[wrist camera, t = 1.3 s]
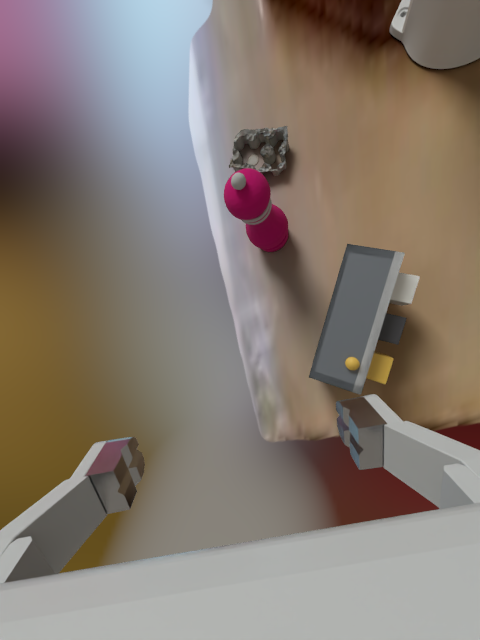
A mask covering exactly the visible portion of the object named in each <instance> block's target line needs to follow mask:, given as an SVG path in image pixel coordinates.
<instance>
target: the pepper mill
mask: <svg viewBox="0 0 480 640" xmlns="http://www.w3.org/2000/svg"><path fill="white" fill-rule="evenodd" d="M224 200H225V203H226V206H227V208H228V210H229V211H230V213H231V214H232V215H234V216H235V217H236V218H238V219H241V220H242V221H243V222H244V223H246V232H247V235H248V237H249V239H250V241H251V242H252V243H253V244H254V245H255V246H257V247H259V248H261V249H262V250H264V251H267V252H274V251H277V250H279V249H281V248H282V247H283V246H284V245H285V243H286V242H287V239H288V221H287V218H286V216H285V214H284V213H283V211H282V210H281V209H280V208H278V207H277V206H275V205H273V204H272V202H271V198H270V187H269V183H268V181H267V180H266V178H265V177H264V175H263V174H262V173H260V172H259V171H257V170H255V169H252V168H245V169H241V170H239V171H237V172H235V173H234V174H233V175H232V176H231V177H230V178H229V180H228V181H227V183H226V185H225V189H224Z"/></svg>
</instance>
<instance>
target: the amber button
mask: <svg viewBox="0 0 480 640" xmlns="http://www.w3.org/2000/svg"><path fill="white" fill-rule="evenodd" d="M393 360H394V358H392V357H390V356H388V355H386V354H382V353H379V352H375V351H374V354H373V357H372V360H371V363H370V367H369V370H368V373H367V376H366V378H367V379H370V380H373V381H376V382H379V383H383V384H386V382H387V378H388V375H389V372H390V369H391V366H392V363H393Z"/></svg>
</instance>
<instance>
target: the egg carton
mask: <svg viewBox="0 0 480 640" xmlns="http://www.w3.org/2000/svg"><path fill="white" fill-rule="evenodd" d="M287 138H288V134H287V126H284V127H279V128H277V129H273V128H272V129H268V128H264V129H256V130H249V129H244V130H241V131H240V132H239V133H238V134H237V135H236V137H235V140H234V148H233V158H232V159H231V161H230V165H229V168H230V167H233V168H234V170H235V172H237V171H239V170H241V169H245V168H252V169H255V167H254V166H255V165H256V164H257V163H258V161H259V158H258V156H257V155H254V154H253V155H251V156H250V157H249V158H248V164H247V163H246V164H245V165H241V164H242V161H243V160H242V157H241V155H240V153H239V151H240V150H242V149H243V147H244V145H245V144H249V145H250V147H251V148H252V149H256V148H258V147H259V146H260V144H261V142H266V144H265V145H264V146H263V147H262V149H261V152H260V153H261V155H262V157H263V160H264V162H265V163H264V164H263V166H262V167H261V168H260V169H259V170H257V171H259V172H260V173H262V174H263V173H264V172H266V171H272V172H273V176H278V175H279V174H280V172H281V171H282V170H284V169H286V165H287V164H286V160H285V156H284V154H285V152H287V151H288V150H289V144H288V139H287ZM279 140H283V141H284V142H282V145H281V146H280V147H279V150H278V151H279V153H280V157H281V161H282V162H283V163H280V164H279V165H278V167H277V169H274V170H273V169H272V168H271V166H270V165H271V164H273V163H274V162H275V160H276V156H275V152H274V149H273V147H274V146H275V145H276V144H277V143H278V141H279ZM255 170H256V169H255Z"/></svg>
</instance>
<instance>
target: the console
mask: <svg viewBox="0 0 480 640" xmlns="http://www.w3.org/2000/svg"><path fill="white" fill-rule="evenodd" d="M404 254H405V253H403V252H396V251H390V250H383V249H377V248H370V247H364V246H357V245H351V244H347V247H346V250H345V254H344V257H343V261H342V264H341V267H340V271H339V274H338V278H337V281H336V285H335V288H334V292H333V295H332V299H331V302H330V306H329V309H328V312H327V316H326V319H325V323H324V326H323V330H322V333H321V337H320V340H319V344H318V347H317V350H316V354H315V357H314V361H313V364H312V368H311V371H310V375H309V377H310V378H313V379H316V380H319V381H322V382H325V383H327V384H330V385H333V386H336V387H339V388H342V389H345V390H348V391H351V392H354V393H357V394H360V395H361V393H362V389H363V386H364V383H365V380H366V376H367V373H368V370H369V367H370V363H371V360H372V357H373V354H374V351H375V347H376V344H377V341H378V338H379V334H380V331H381V328H382V325H383V321H384V318H385V315H386V312H387V309H388V305H389V302H390V299H391V296H392V292H393V289H394V286H395V283H396V279H397V276H398V273H399V270H400V267H401V263H402V260H403V257H404Z"/></svg>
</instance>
